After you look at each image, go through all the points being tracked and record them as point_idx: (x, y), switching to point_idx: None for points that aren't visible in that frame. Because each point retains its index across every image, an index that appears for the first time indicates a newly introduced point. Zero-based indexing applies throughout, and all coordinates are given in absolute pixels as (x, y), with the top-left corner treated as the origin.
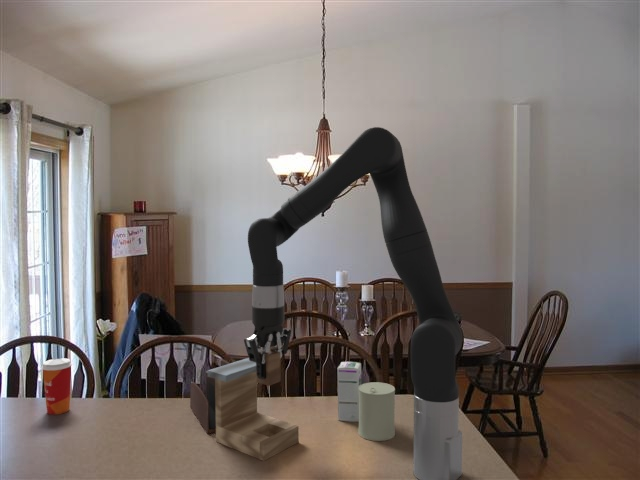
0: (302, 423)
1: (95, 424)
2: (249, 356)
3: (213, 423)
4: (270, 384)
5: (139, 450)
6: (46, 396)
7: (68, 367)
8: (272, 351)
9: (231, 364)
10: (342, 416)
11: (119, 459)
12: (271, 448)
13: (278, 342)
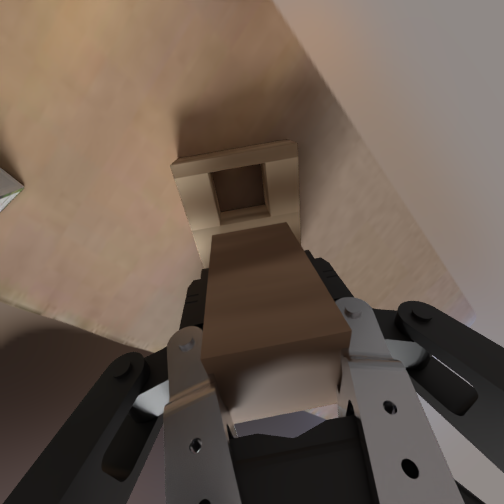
0: (120, 228)
1: None
2: (446, 369)
3: None
4: (276, 225)
5: (375, 294)
6: None
7: None
8: (240, 389)
9: None
10: (4, 180)
11: (405, 287)
12: (266, 145)
13: (214, 489)
